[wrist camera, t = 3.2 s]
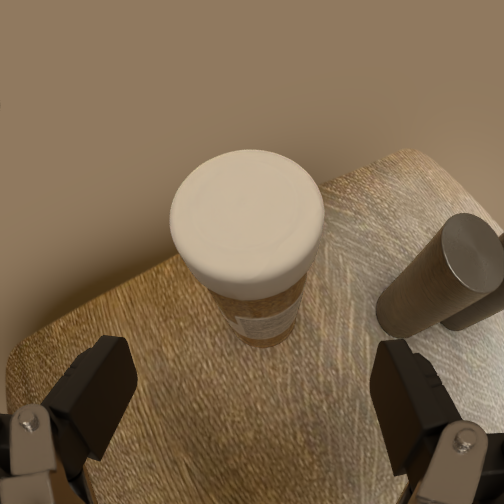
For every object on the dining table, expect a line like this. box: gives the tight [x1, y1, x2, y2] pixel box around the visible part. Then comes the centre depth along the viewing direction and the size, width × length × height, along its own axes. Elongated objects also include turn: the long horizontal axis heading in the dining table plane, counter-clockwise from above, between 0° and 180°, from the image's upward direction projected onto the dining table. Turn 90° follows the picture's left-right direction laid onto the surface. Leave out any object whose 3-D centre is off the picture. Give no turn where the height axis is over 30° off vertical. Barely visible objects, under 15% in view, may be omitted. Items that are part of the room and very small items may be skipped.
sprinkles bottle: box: [170, 150, 325, 348], centre depth 14 cm, size 5×5×14 cm
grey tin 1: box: [376, 213, 504, 338], centre depth 15 cm, size 4×4×10 cm
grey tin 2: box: [441, 233, 504, 331], centre depth 15 cm, size 4×4×10 cm
